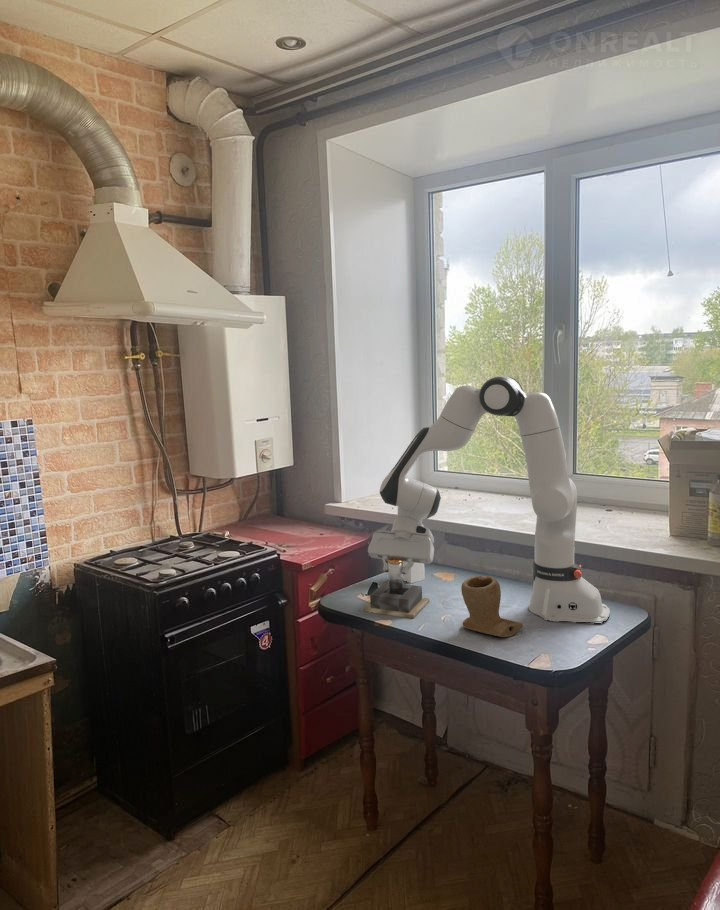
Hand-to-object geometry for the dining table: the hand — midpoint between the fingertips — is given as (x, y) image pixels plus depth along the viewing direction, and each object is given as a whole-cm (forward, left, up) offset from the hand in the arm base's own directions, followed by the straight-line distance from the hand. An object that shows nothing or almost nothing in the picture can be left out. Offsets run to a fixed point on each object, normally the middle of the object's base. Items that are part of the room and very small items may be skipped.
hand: (394, 572), depth 203 cm
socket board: (0, -1, -11) cm, 11 cm away
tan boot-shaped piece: (-30, +8, -11) cm, 33 cm away
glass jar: (0, -1, -4) cm, 4 cm away
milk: (+4, -26, -11) cm, 28 cm away
